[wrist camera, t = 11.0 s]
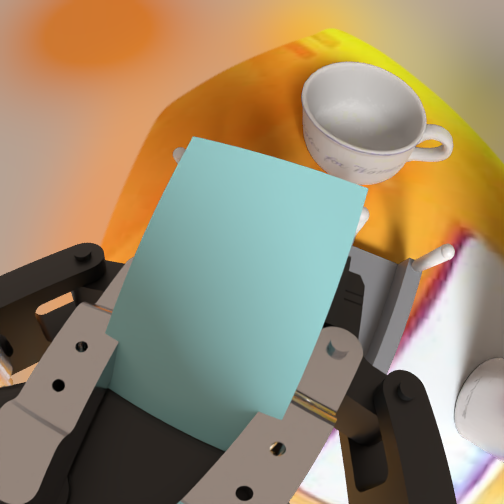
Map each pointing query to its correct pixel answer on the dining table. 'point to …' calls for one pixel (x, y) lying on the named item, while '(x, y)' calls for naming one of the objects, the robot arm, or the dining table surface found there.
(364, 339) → the dish rack
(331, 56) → the dining table surface
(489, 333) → the dining table surface
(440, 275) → the dining table surface
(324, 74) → the teacup
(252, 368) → the teal rectangular block
